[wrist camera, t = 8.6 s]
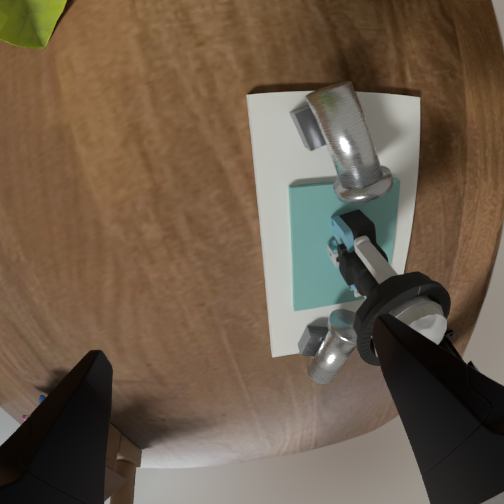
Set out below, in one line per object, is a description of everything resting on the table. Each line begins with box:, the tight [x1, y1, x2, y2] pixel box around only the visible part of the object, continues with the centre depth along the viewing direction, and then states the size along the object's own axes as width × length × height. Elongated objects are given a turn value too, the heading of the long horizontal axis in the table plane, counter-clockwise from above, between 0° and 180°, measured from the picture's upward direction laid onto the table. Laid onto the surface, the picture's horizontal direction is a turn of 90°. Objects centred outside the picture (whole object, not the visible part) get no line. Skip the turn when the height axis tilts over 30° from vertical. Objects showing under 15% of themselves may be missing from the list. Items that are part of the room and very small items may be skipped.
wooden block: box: [104, 423, 142, 504], centre depth 28 cm, size 4×11×18 cm, turn 10°
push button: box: [327, 209, 451, 366], centre depth 16 cm, size 7×5×10 cm
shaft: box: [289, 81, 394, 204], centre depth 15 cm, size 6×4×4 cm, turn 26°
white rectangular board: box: [246, 91, 420, 357], centre depth 21 cm, size 12×22×1 cm, turn 6°
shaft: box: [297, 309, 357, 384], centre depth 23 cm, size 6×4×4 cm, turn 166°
